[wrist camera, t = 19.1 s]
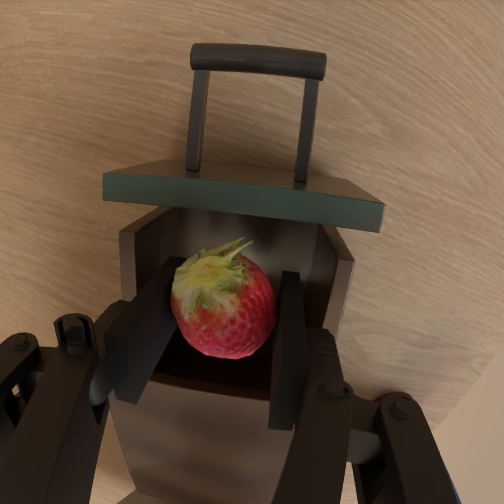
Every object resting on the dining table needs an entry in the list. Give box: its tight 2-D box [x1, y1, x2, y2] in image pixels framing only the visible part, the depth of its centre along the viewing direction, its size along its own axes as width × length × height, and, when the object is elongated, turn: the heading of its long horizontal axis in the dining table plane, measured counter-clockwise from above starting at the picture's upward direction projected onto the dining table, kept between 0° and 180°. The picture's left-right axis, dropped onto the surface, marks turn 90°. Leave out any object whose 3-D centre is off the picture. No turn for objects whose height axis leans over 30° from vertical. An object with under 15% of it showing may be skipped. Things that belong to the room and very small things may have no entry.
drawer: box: [103, 43, 385, 391], centre depth 17 cm, size 20×11×8 cm, turn 174°
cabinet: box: [108, 371, 294, 504], centre depth 21 cm, size 15×13×10 cm
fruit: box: [170, 237, 279, 359], centre depth 13 cm, size 4×6×5 cm
